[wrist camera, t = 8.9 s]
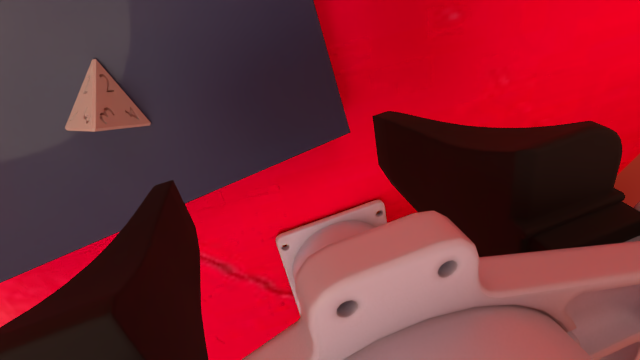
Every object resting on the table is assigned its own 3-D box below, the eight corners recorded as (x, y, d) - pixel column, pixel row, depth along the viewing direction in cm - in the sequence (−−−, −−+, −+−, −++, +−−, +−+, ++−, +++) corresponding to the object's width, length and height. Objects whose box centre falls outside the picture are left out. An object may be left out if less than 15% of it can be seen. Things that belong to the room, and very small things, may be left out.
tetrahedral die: (129, 143, 19) (147, 179, 17) (63, 128, 17) (76, 167, 15) (158, 80, 18) (180, 111, 16) (92, 56, 16) (109, 89, 14)
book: (333, 114, 24) (350, 132, 22) (5, 253, 22) (-16, 289, 20) (243, -187, 16) (254, -209, 14) (-282, -14, 14) (-371, -6, 12)
